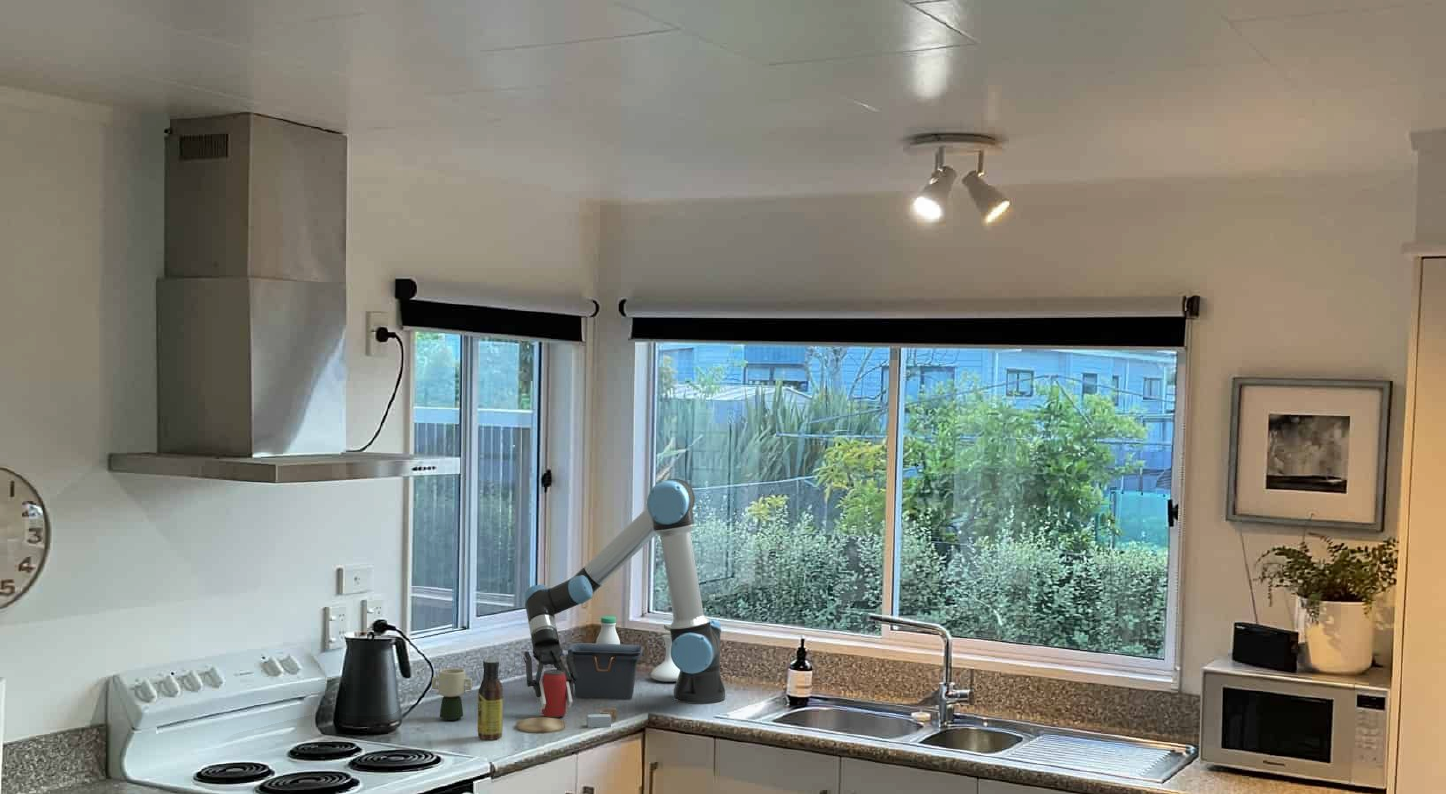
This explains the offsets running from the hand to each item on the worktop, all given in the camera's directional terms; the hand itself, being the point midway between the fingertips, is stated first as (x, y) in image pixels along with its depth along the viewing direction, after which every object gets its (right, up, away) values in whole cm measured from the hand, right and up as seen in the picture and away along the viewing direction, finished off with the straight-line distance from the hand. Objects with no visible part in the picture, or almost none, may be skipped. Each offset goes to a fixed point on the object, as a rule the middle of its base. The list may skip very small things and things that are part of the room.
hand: (557, 705), depth 371 cm
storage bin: (+10, -4, +29) cm, 31 cm away
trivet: (-3, -4, -9) cm, 10 cm away
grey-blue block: (+12, -4, -7) cm, 14 cm away
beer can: (-1, -4, +3) cm, 5 cm away
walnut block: (+14, -4, -1) cm, 15 cm away
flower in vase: (+29, -5, +54) cm, 61 cm away
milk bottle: (+9, -4, +49) cm, 50 cm away
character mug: (-28, -3, -2) cm, 28 cm away
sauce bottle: (-14, -4, -22) cm, 26 cm away
